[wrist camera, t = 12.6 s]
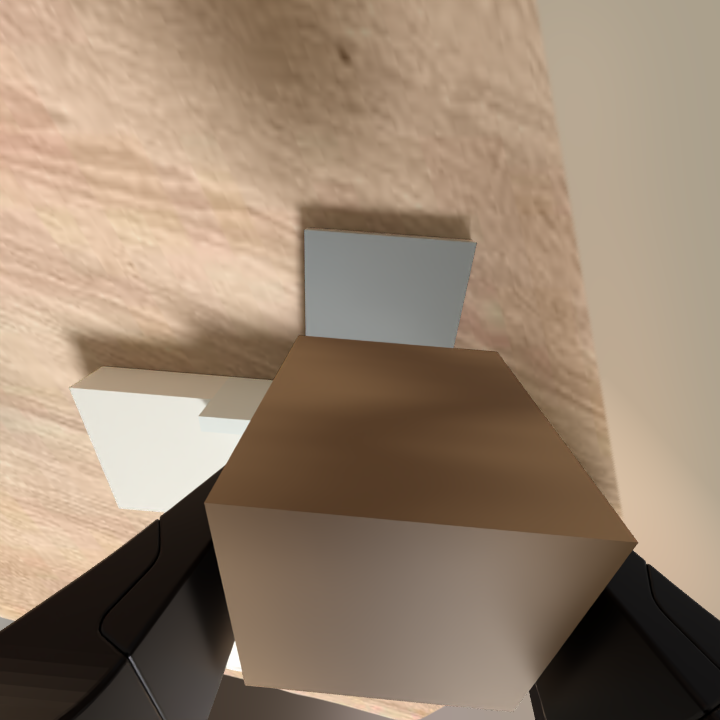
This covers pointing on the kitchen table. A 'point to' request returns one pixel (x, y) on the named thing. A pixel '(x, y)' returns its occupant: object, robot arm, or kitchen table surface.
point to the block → (406, 528)
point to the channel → (163, 429)
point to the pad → (385, 286)
